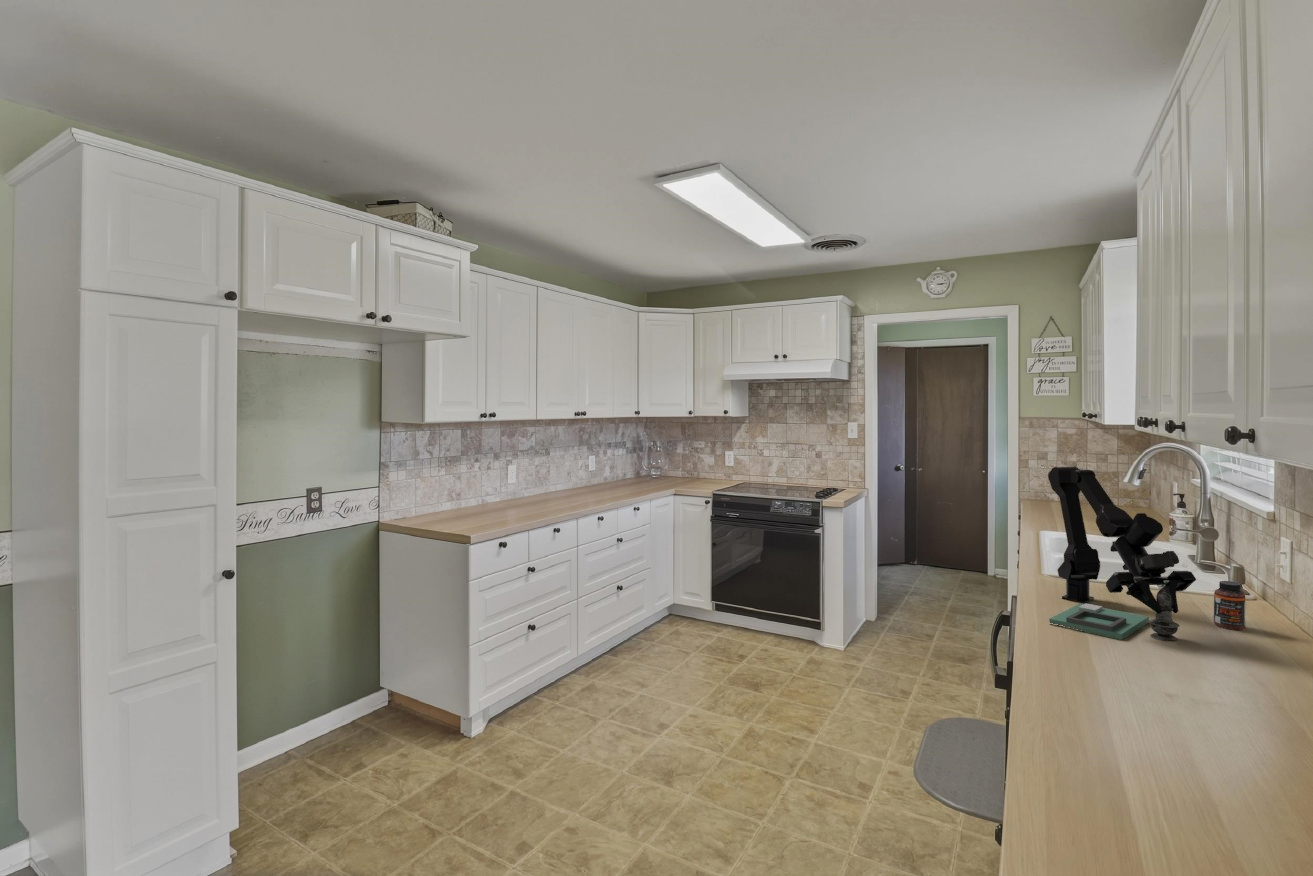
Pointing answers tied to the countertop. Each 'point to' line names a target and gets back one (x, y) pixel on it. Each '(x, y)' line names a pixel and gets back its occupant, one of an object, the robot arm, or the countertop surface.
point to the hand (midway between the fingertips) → (1168, 612)
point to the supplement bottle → (1229, 606)
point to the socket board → (1100, 620)
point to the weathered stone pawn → (1164, 619)
